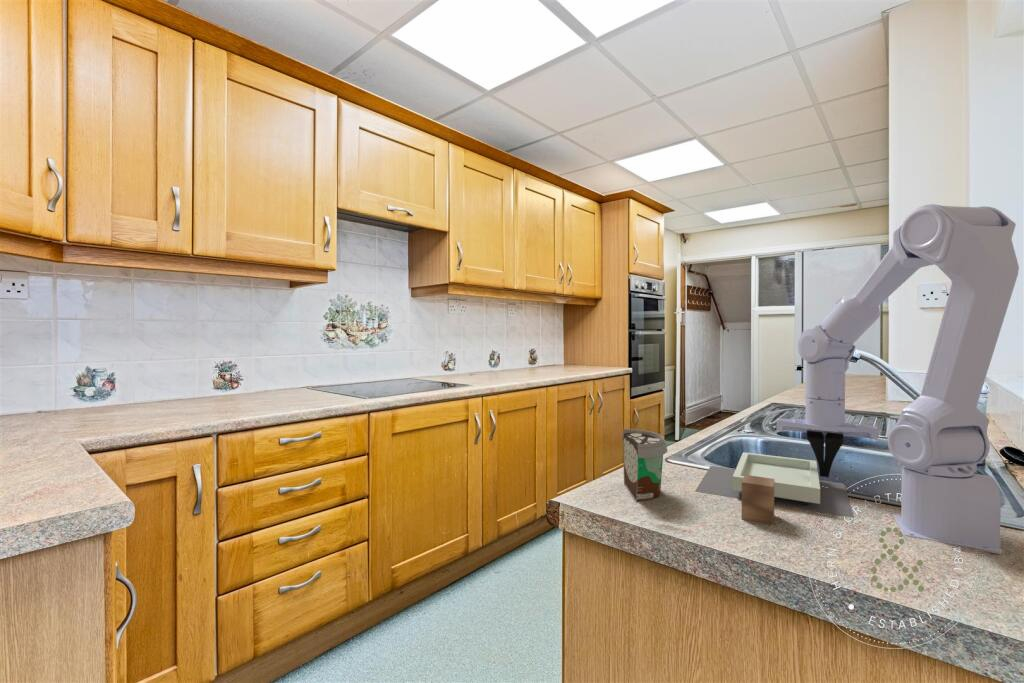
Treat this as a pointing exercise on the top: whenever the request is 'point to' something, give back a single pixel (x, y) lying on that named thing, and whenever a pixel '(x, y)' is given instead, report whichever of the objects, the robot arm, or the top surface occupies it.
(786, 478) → the pale green tray
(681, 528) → the top surface
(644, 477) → the food container
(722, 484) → the mat
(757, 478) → the walnut block
